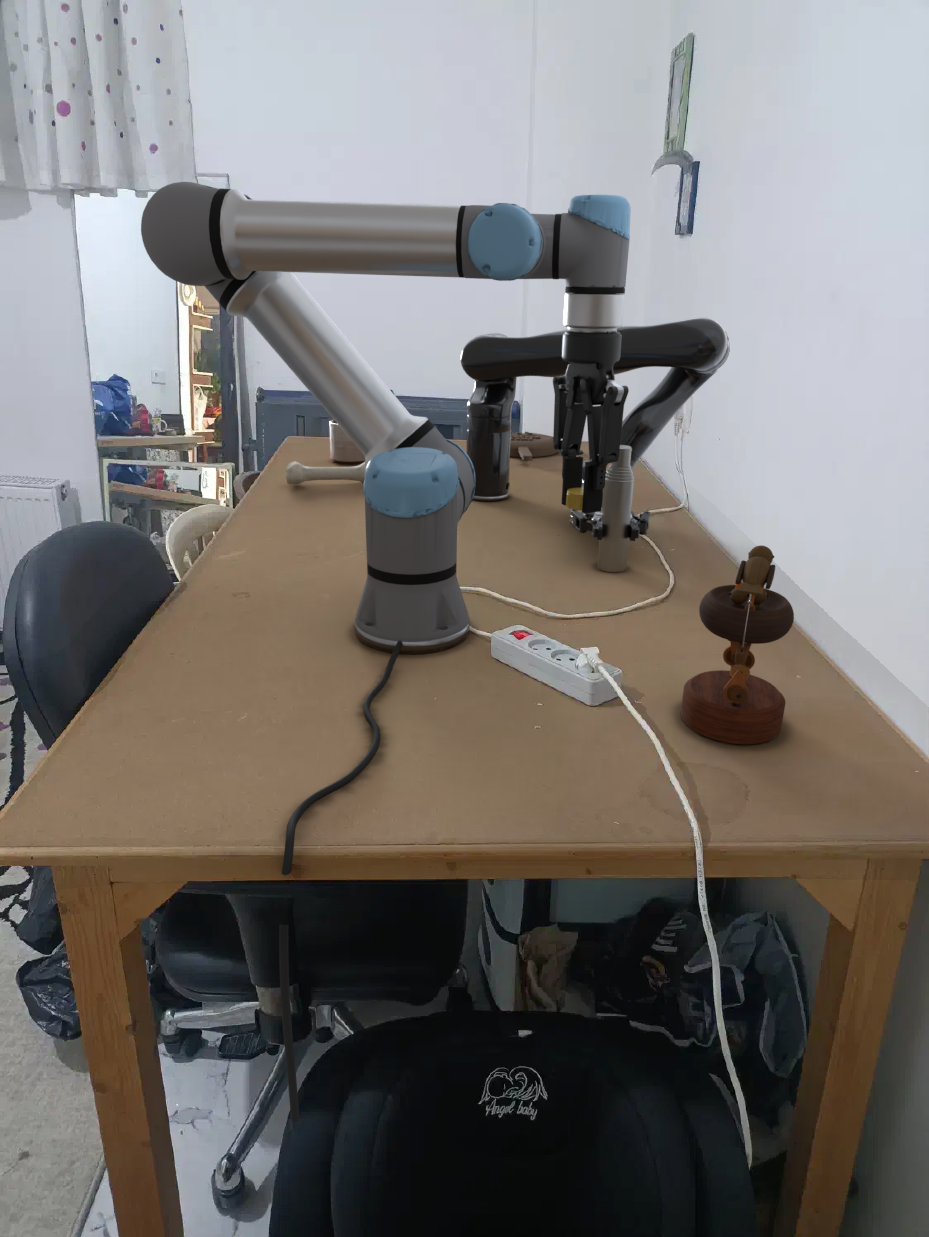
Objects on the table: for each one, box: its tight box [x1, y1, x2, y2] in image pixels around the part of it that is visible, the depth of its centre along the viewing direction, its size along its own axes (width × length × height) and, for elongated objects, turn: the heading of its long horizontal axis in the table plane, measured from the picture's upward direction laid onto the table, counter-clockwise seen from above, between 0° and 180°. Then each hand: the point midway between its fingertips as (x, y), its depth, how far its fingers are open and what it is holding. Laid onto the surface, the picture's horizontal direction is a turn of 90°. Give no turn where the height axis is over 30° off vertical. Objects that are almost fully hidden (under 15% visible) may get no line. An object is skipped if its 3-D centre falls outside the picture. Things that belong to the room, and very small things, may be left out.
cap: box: [565, 488, 584, 511], centre depth 117 cm, size 4×4×2 cm
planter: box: [328, 419, 365, 464], centre depth 212 cm, size 11×11×10 cm
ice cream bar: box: [510, 431, 559, 462], centre depth 222 cm, size 21×28×4 cm
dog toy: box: [285, 460, 365, 486], centre depth 189 cm, size 20×6×5 cm, turn 99°
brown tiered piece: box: [680, 545, 795, 745], centre depth 89 cm, size 15×11×20 cm
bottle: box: [596, 445, 635, 573], centre depth 135 cm, size 5×5×20 cm
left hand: (581, 507), depth 117 cm, fingers closed on cap, 4 cm apart
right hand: (617, 534), depth 134 cm, fingers closed on bottle, 4 cm apart
